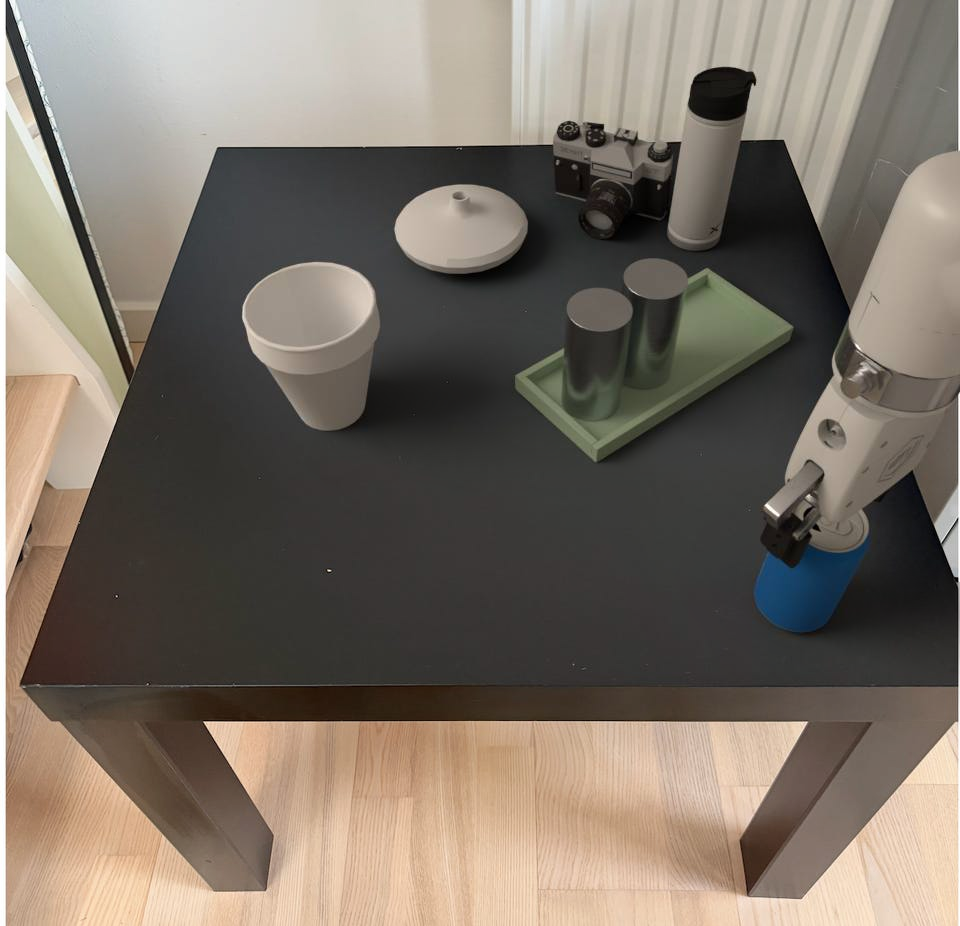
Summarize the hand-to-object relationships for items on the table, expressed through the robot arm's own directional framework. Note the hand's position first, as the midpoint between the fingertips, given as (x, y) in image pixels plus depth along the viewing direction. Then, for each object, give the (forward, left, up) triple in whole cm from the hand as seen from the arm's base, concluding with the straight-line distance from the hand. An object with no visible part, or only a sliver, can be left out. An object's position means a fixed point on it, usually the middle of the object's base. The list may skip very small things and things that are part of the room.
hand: (822, 520), depth 68 cm
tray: (+28, -11, -12) cm, 32 cm away
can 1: (+28, -2, -11) cm, 30 cm away
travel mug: (+41, -30, -12) cm, 52 cm away
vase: (+57, -7, -12) cm, 58 cm away
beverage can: (0, 0, -12) cm, 12 cm away
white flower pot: (+44, +19, -12) cm, 49 cm away
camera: (+51, -24, -12) cm, 57 cm away
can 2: (+28, -9, -11) cm, 31 cm away
